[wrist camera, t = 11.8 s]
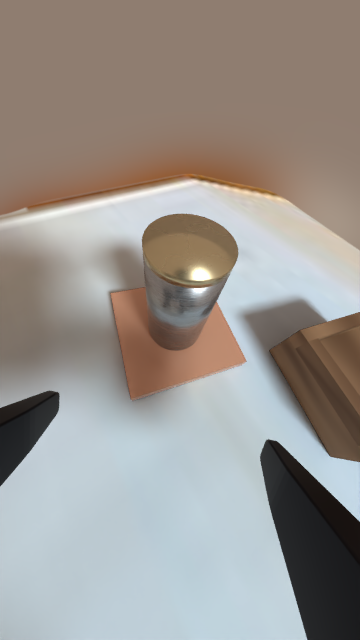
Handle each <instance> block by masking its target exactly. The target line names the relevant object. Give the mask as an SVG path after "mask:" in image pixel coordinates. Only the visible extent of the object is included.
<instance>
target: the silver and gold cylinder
mask: <svg viewBox="0 0 360 640" xmlns="http://www.w3.org/2000/svg"><path fill="white" fill-rule="evenodd" d="M142 247H143V260H144V274H145V287H146V300H147V313H148V326H149V333H150V335H151V337H152V339H153V340H154V341H155V342H156V343H157V344H158V345H159V346H161V347H162V348H165V349H168V350H172V351H179V350H184V349H187V348H189V347H190V346H192V345H193V344H194V343H195V342H196V341H197V339H198V338H199V336H200V334H201V332H202V330H203V328H204V325H205V323H206V321H207V319H208V317H209V315H210V313H211V311H212V309H213V307H214V305H215V303H216V301H217V299H218V297H219V295H220V293H221V291H222V289H223V287H224V285H225V283H226V281H227V279H228V277H229V275H230V273H231V271H232V269H233V267H234V265H235V263H236V260H237V258H238V247H237V244H236V241H235V240H234V238H233V236H232V235H231V234H230V233H229V232H228V231H227V230H226V229H225V228H224V227H222V226H221V225H220V224H218V223H216V222H214V221H212V220H210V219H207V218H205V217H201V216H197V215H192V214H173V215H168V216H164V217H161V218H159V219H157V220H155V221H154V222H152V223H151V224H150V225H149V226H148V227H147V228H146V230H145V231H144V234H143V237H142Z"/></svg>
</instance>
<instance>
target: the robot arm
mask: <svg viewBox="0 0 360 640" xmlns="http://www.w3.org/2000/svg"><path fill="white" fill-rule="evenodd" d="M58 410H59V393H58V392H54V391H46V392H43V393H41V394H38V395H35V396H32V397H30V398H27V399H24V400H21V401H18V402H16V403H13V404H10V405H7V406H4V407H2V408H0V486H1V485H2V484H3V483H4V482H5V480H6V479H7V478H8V477H9V476H10V475H11V473H12V472H13V471H14V470H15V469H16V467H17V466H18V465H19V464H20V463H21V462H22V460H23V459H24V458H25V457H26V456H27V454H28V453H29V452H30V451H31V449H32V448H33V447H34V445H35V444H36V442H37V441H38V440H39V438H40V437H41V435H42V434H43V433H44V431H45V430H46V428H47V427H48V426H49V424H50V423H51V422H52V420H53V419H54V417H55V416H56V414H57V413H58ZM260 461H261V466H262V471H263V476H264V481H265V486H266V491H267V496H268V501H269V505H270V509H271V513H272V517H273V520H274V524H275V527H276V531H277V534H278V538H279V541H280V545H281V549H282V552H283V556H284V559H285V563H286V566H287V570H288V573H289V577H290V580H291V584H292V587H293V591H294V594H295V598H296V601H297V605H298V608H299V612H300V615H301V619H302V622H303V626H304V629H305V633H306V636H307V640H360V522H359V521H358V520H357V519H356V518H355V517H354V516H353V515H352V514H351V513H350V512H349V511H348V510H347V509H346V508H345V507H344V506H343V505H342V504H341V503H340V502H339V501H338V500H337V499H336V498H335V497H334V496H333V495H332V494H331V493H330V492H329V491H328V490H327V489H326V488H325V487H324V486H322V485H321V484H320V483H319V482H318V481H317V480H316V479H315V478H314V477H313V476H312V475H311V474H310V473H309V472H308V471H307V470H306V469H305V468H304V467H303V466H302V465H301V464H300V463H299V462H298V461H297V460H296V459H295V458H294V457H293V456H292V455H291V454H290V453H289V452H288V451H287V450H286V449H285V448H284V447H283V446H282V445H281V444H280V443H278V442H277V441H274V440H269V439H268V440H266V442H265V444H264V447H263V449H262V452H261V456H260Z"/></svg>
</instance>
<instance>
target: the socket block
mask: <svg viewBox="0 0 360 640" xmlns="http://www.w3.org/2000/svg"><path fill="white" fill-rule="evenodd" d="M269 351H270V353H271V354H272V356H273V358H274V360H275V361H276V363H277V365H278V366H279V368H280V370H281V372H282V373H283V375H284V377H285V379H286V380H287V382H288V384H289V385H290V387H291V389H292V391H293V392H294V394H295V396H296V398H297V399H298V401H299V403H300V405H301V406H302V408H303V410H304V411H305V413H306V415H307V417H308V418H309V420H310V422H311V424H312V425H313V427H314V429H315V431H316V432H317V434H318V436H319V437H320V439H321V441H322V443H323V444H324V446H325V448H326V450H327V451H328V453H329V455H330V457H334V458H340V459H346V460H351V461H357V462H360V312H358V313H355V314H352V315H348V316H345V317H342V318H338V319H335V320H332V321H329V322H325V323H322V324H319V325H315V326H312V327H309V328H305V329H302V330H299V331H298V332H296V333H295V334H293V335H292V336H290V337H289V338H287V339H286V340H284V341H283V342H281V343H280V344H278V345H277V346H275V347H274V348H272V349H271V350H269Z"/></svg>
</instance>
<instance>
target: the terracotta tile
mask: <svg viewBox="0 0 360 640" xmlns="http://www.w3.org/2000/svg"><path fill="white" fill-rule="evenodd" d="M111 299H112V304H113V309H114V314H115V319H116V325H117V330H118V335H119V340H120V345H121V351H122V356H123V361H124V366H125V371H126V377H127V382H128V387H129V392H130V397H131V400H132V401H134V400H137V399H140V398H143V397H146V396H149V395H152V394H155V393H158V392H162V391H165V390H168V389H171V388H174V387H177V386H180V385H183V384H186V383H189V382H192V381H195V380H198V379H201V378H204V377H207V376H210V375H213V374H216V373H219V372H222V371H225V370H228V369H231V368H234V367H237V366H240V365H242V364H244V363H245V362H247V361H246V359H245V357H244V355H243V353H242V351H241V349H240V347H239V345H238V343H237V341H236V339H235V337H234V335H233V333H232V331H231V329H230V327H229V325H228V323H227V321H226V319H225V317H224V315H223V313H222V311H221V309H220V307H219V305H218V303H217V302H216V303H215V305H214V307H213V309H212V311H211V313H210V315H209V317H208V319H207V321H206V323H205V325H204V328H203V330H202V332H201V334H200V336H199V338H198V339H197V341H196V342H195V343H194V344H193V345H192V346H190V347H189V348H187V349H184V350H179V351H172V350H168V349H165V348H162V347H161V346H159V345H158V344H157V343H156V342H155V341H154V340H153V339H152V337H151V335H150V333H149V326H148V313H147V300H146V287H143V288H137V289H132V290H126V291H121V292H115V293H111Z"/></svg>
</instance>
